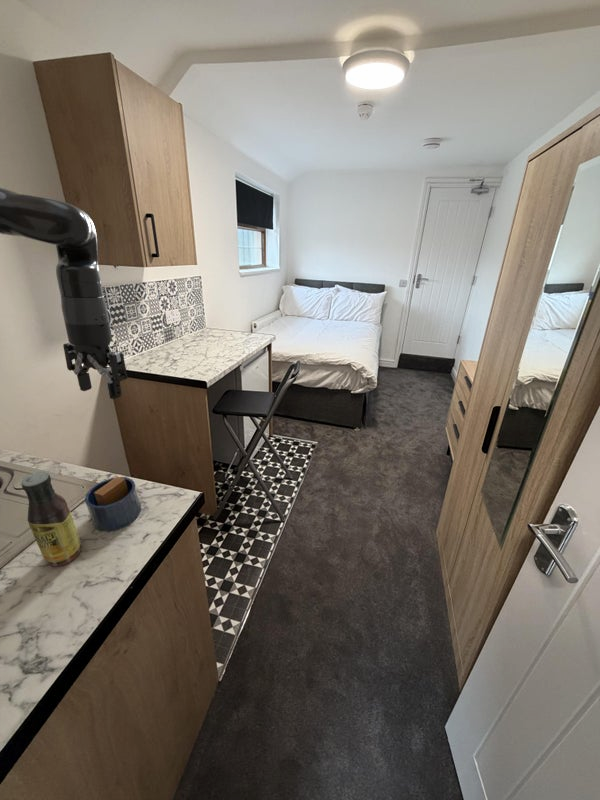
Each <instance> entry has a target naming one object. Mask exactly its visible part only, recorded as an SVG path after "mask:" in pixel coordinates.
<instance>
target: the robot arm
mask: <svg viewBox="0 0 600 800" xmlns="http://www.w3.org/2000/svg"><path fill="white" fill-rule="evenodd" d="M0 235H6V236H11V237H23V238H26V239H31V240H34V241H37V242H42V243H46V244H50V245H54V246H55V248H56V253H57V259H58V261H57V264H56V266H55V276H56V281H57V286H58V290H59V291H58V292H59V295H60V302H61V303H60V307H61V312H62V316H63V317H62V318H63V321H64V325H65V331H66V335H67V339H68V340H67V341H68V343H63V345H62V346H63V352H64V357H65V363H66V368H67V371H69V372H71V371H72V372H73V373H74V375H75V376H76V377H77V381H78V386H79V389H80V391H82V392H87V391H89V390H91V389H93V388H92V387H93V386H92V381H91V377H90V372H89V370H90V369H93V370H95V371H97V372H98V373H99V374H100V375H101V376H103V377H104V379H105V380H106V381H107V390H108V395H109V399H111V400H116V399H119V398H120V397H121V396H122V388H121V382H123V381H125V380H128V377H129V376H128V372H127V367H126V363H125V357H124V352H122V351H120V350H119V351H116V352H115V351H111V350H112V349H111V348H110V343H111V342H112V341H113V337H112V332H111V325H110V318H109V313H108V306H107V304H106V300H105V297H104V290H103V284H102V279H101V274H100V269H99V251H98V250H99V249H98V248H99V247H98V237H97V232H96V227H95V224H94V222H93V220H92V218H91V217H90V216H89V214H87V212H86V211H84V210H83V209H82V208H80V207H78V206H75V205H73V204H71V203H69V202H66V201H62V200H57V199H52V198H46V197H42V196H36V195H30V194H23V193H19V192H15V191H13V190H11V189H7V188H2V187H0ZM73 360H74V363H73ZM119 372H120V373H119ZM110 373H111V374H110ZM111 375H112V376H111Z"/></svg>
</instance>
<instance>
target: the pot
mask: <svg viewBox="0 0 600 800" xmlns="http://www.w3.org/2000/svg"><path fill="white" fill-rule="evenodd" d="M120 477H121V478H124V479H125V480H126V484H127V488H128V491H129V494H128V495H127V496H126V497H125V498H123V499H121V500H120V501H118V502H116V503H113V504H109V505H104V506H99V505H98V503H97V500H96V497H95V494H94V492H96V491H97V490H99V489H100V488H101V487H103V486H104V485H106V484H107V483H109V482H110V481H111V480H113V479H114V478H115V477H111V478H107V479H105V480H103V481H100V482H98V483H96V484H95V485H94V486H93V487H91V488H90V489H89V490H88V491H87V492H86V494H85V497H84V502H85V505H86V508H87V511H88V513H89V515H90V519H91V521H92V524H93V527H94V528H95V529H97V530H98V531H100V532H115V531H117V530H121V529H123V528H126V527H127V526H129V525H131V524H132V523H133V522H134V521H136V519H138V517H139V516H140V514H141V511H142V505H141V501H140V497H139V494H138V491H137V490H138V489H137V487H136V483H135V481H134V480H133V479H131V478H130V477H127V476H120Z"/></svg>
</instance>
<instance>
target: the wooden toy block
mask: <svg viewBox="0 0 600 800" xmlns="http://www.w3.org/2000/svg"><path fill="white" fill-rule="evenodd" d="M121 477H122V476H118V475H117V476H116V477H113V478H114V479H113V480H111V481H110V482H109V483H107V484H106V485H104V486H103V487H101V488H100V489H99V490H97V491H96V492H94V494H95V497H96V500H97V503H98V505H99V506H104V505H109V504H113V503H116V502H118V501H120V500H121V499H123V498H125V497H126V496H127V495H128V494H129V491H128V488H127V484H126V480H125V479H124V478H121Z"/></svg>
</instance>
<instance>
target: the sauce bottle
mask: <svg viewBox="0 0 600 800" xmlns="http://www.w3.org/2000/svg"><path fill="white" fill-rule="evenodd" d="M20 485H21V488H22V490H23V491H24V492H25V494H26V496H27V499H28V507H27V509H28V510H27V523H28V525H29V528H30V530H31V532H32V535H33V537H34V539H35V541H36V544H37V546H38V548H39V551H40V553H41V556H42V558H43V559H44V561H45V562H46V563H47V565H49V566H51V567H60V566H65V565H67V564H69V563H70V562H72V561H73V560H74V559H76V557H78V555H79V554H80V552H81V550H82V544H81V539H80V536H79V533H78V530H77V528H76V525H75V521H74V518H73V516H72V514H71V510H70V508H69V507H68V503H67V501H66V499H65V498H64V497H63V496H62V495H60V494H58V493H57V492H55V489H54V487H53V485H52V478H51V476H50V474H49V472H46V471H37V472H33V473H30V474H29V475H26V476H25V477H24V478H23V479H22V480H21V484H20Z"/></svg>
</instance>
